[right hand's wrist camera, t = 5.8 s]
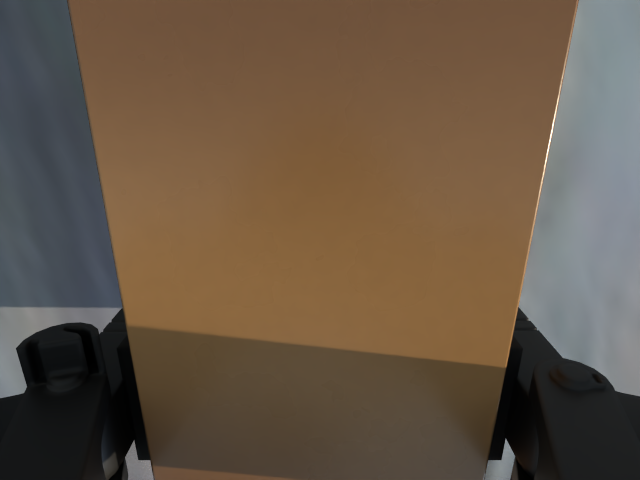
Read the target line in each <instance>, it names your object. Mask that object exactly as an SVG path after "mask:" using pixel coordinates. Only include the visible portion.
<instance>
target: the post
mask: <svg viewBox="0 0 640 480" xmlns="http://www.w3.org/2000/svg"><path fill="white" fill-rule="evenodd" d="M578 1H579V0H67V3H68V8H69V14H70V19H71V25H72V30H73V36H74V41H75V47H76V52H77V58H78V63H79V69H80V74H81V80H82V85H83V91H84V96H85V102H86V107H87V113H88V118H89V124H90V130H91V135H92V141H93V146H94V152H95V157H96V163H97V168H98V174H99V179H100V185H101V190H102V196H103V201H104V207H105V212H106V218H107V223H108V229H109V234H110V240H111V245H112V251H113V256H114V262H115V268H116V273H117V279H118V284H119V290H120V295H121V301H122V306H123V312H124V317H125V323H126V328H127V334H128V339H129V345H130V350H131V356H132V361H133V367H134V372H135V378H136V383H137V389H138V394H139V400H140V405H141V411H142V417H143V422H144V428H145V433H146V439H147V444H148V450H149V455H150V461H151V466H152V472H153V477H154V480H484V478H485V473H486V468H487V463H488V458H489V453H490V448H491V442H492V437H493V432H494V427H495V422H496V417H497V412H498V407H499V402H500V397H501V392H502V387H503V382H504V377H505V371H506V366H507V361H508V356H509V351H510V346H511V341H512V336H513V331H514V326H515V321H516V316H517V311H518V306H519V300H520V295H521V290H522V285H523V280H524V275H525V270H526V265H527V260H528V255H529V250H530V245H531V240H532V234H533V229H534V224H535V219H536V214H537V209H538V204H539V199H540V194H541V189H542V184H543V179H544V174H545V169H546V163H547V158H548V153H549V148H550V143H551V138H552V133H553V128H554V123H555V118H556V113H557V108H558V103H559V98H560V92H561V87H562V82H563V77H564V72H565V67H566V62H567V57H568V52H569V47H570V42H571V37H572V32H573V27H574V21H575V16H576V11H577V6H578Z"/></svg>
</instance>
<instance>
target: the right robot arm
mask: <svg viewBox="0 0 640 480" xmlns="http://www.w3.org/2000/svg"><path fill="white" fill-rule="evenodd" d="M16 350H17V354H18V357H19V360H20V364H21V367H22V371H23V374H24V377H25V381H26V384H27V388H26V390H25V392H24V393H23V394H19V395H15V396H10V397H5V398H0V480H128V471H127V465H126V460H125V456H126V454H127V452H128V451H129V449H130V447H131V445H132V443H133V441H134V440H135V445H136V450H137V455H138V460H150V455H149V450H148V444H147V439H146V433H145V428H144V422H143V417H142V411H141V405H140V400H139V394H138V389H137V383H136V378H135V372H134V367H133V361H132V356H131V350H130V345H129V339H128V334H127V328H126V323H125V317H124V312H123V308H122V309H121V310H120V311H119V312H118V313H117V315H116V316H115V317H114V318H113V319H112V322H110V323H109V324H108V325H107V326H106V327H105V328H104V330H103V332H101V333H100V334H99V332H98V329H97V328H96V327H94V326H93V325H92V324H86V323H81V322H80V323H66V324H61V325H57V326H52V327H49V328H47V329H44V330H42V331H39V332H36V333H35V334H33V335H31V336H30V337H28V338H26V339H25V340H23V341H22V343H21V344H20V345H19V346H18V347H17V348H16ZM505 439H507V441H508V443H509V445H510V447H511V449H512V451H513V453H514V455H515V460H514V465H513V469H512V474H511V479H510V480H640V396H635V395H630V394H625V393H620V392H617V391H615V390H614V388H613V386H612V385H611V383H610V382H609V381H608V379H607V378H606V377H605V376H603V375H602V374H601V373H599V372H598V371H596V370H595V369H593V368H591V367H589V366H587V365H584V364H582V363H580V362H576V361H572V360H569V359H564V358H562V357H561V355H560V354H559V353H558V352H557V351H556V350H555V349H554V347H553V346H552V345H551V344H550V343H549V342H548V341H547V339H546V338H545V337H544V336H543V335H542V334H541V333H540V331H537V328H536V327H535V326H534V324H533V323H532V322H531V321H529V320H528V318H527V316H526V315H525V314H524V313H523V312H522V311H521V310H520V308H519V307H518V311H517V316H516V321H515V326H514V331H513V336H512V341H511V346H510V351H509V356H508V361H507V366H506V371H505V377H504V382H503V387H502V392H501V397H500V402H499V407H498V412H497V417H496V422H495V427H494V432H493V437H492V442H491V448H490V453H489V458H488V460H501V459H502V454H503V449H504V444H505Z"/></svg>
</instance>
